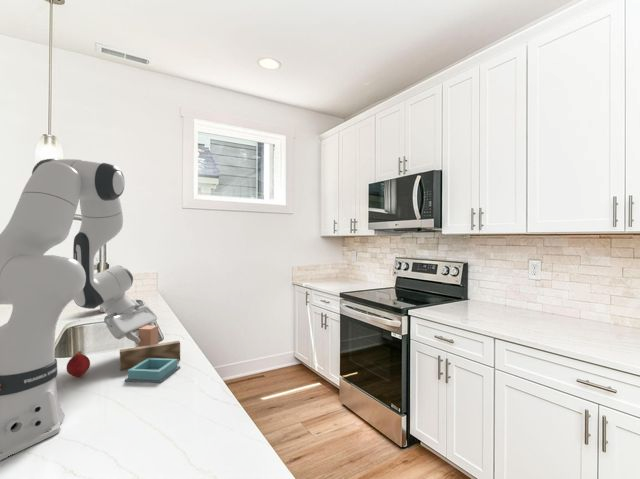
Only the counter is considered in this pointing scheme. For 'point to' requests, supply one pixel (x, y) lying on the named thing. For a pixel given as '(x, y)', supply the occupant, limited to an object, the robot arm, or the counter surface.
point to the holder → (152, 370)
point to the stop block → (148, 335)
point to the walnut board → (148, 353)
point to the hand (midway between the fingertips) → (148, 338)
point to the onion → (78, 365)
